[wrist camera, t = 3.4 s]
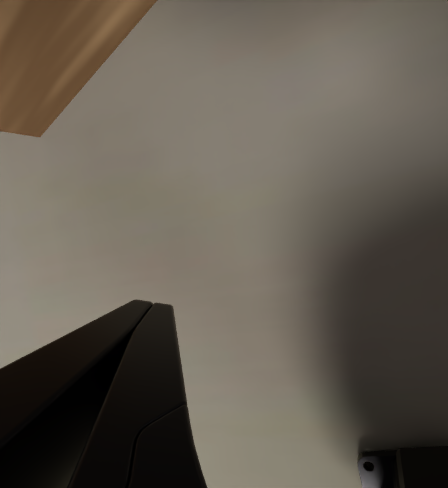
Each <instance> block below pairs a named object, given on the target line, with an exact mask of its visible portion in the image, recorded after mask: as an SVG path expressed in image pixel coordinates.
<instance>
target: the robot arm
mask: <svg viewBox="0 0 448 488" xmlns="http://www.w3.org/2000/svg"><path fill="white" fill-rule="evenodd" d="M367 461H368V462H371V463H373V465H372V466H367V465H365V464H364V462H367ZM358 470H359V474H360V478H361V482H362V487H363V488H448V446H442V447H417V448H400V449H399V450H391V451H366V452H362V453H361V454H360V455H359V456H358ZM0 488H207V485H206V482H205V479H204V476H203V473H202V470H201V467H200V463H199V459H198V456H197V452H196V449H195V445H194V440H193V435H192V430H191V425H190V419H189V412H188V407H187V399H186V393H185V386H184V379H183V372H182V365H181V358H180V351H179V344H178V338H177V331H176V324H175V317H174V310H173V306H172V305H168V304H162V303H154V304H153V303H152V302H149V301H142V300H133V301H131V302H129V303H127V304H125V305H123V306H121V307H119V308H117V309H115V310H113V311H111V312H109V313H107V314H105V315H104V316H102V317H100V318H98V319H96V320H94V321H92V322H90V323H88V324H86V325H84V326H82V327H80V328H78V329H76V330H74V331H72V332H71V333H69V334H67V335H65V336H63V337H61V338H59V339H57V340H55V341H53V342H51V343H49V344H47V345H45V346H43V347H41V348H39V349H38V350H36V351H34V352H32V353H30V354H28V355H26V356H24V357H22V358H20V359H18V360H16V361H14V362H12V363H10V364H8V365H6V366H4V367H3V368H1V369H0Z"/></svg>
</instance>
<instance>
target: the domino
mask: <svg viewBox="0 0 448 488" xmlns="http://www.w3.org/2000/svg"><path fill="white" fill-rule="evenodd" d="M156 1H157V0H0V131H3V132H9V133H16V134H22V135H29V136H35V137H41V135H42V134H43V133H44V132H45V131H46V130H47V128H48V127H49V126H50V125H51V124H52V123H53V121H54V120H55V119H56V118H57V117H58V116H59V114H60V113H61V112H62V111H63V110H64V109H65V107H66V106H67V105H68V104H69V103H70V102H71V100H72V99H73V98H74V97H75V96H76V94H77V93H78V92H79V91H80V90H81V89H82V87H83V86H84V85H85V84H86V83H87V82H88V80H89V79H90V78H91V77H92V76H93V75H94V73H95V72H96V71H97V70H98V69H99V68H100V66H101V65H102V64H103V63H104V62H105V61H106V59H107V58H108V57H109V56H110V55H111V54H112V52H113V51H114V50H115V49H116V48H117V47H118V45H119V44H120V43H121V42H122V41H123V40H124V38H125V37H126V36H127V35H128V34H129V33H130V31H131V30H132V29H133V28H134V27H135V26H136V24H137V23H138V22H139V21H140V20H141V19H142V17H143V16H144V15H145V14H146V13H147V12H148V10H149V9H150V8H151V7H152V6H153V5H154V3H155V2H156Z"/></svg>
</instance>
